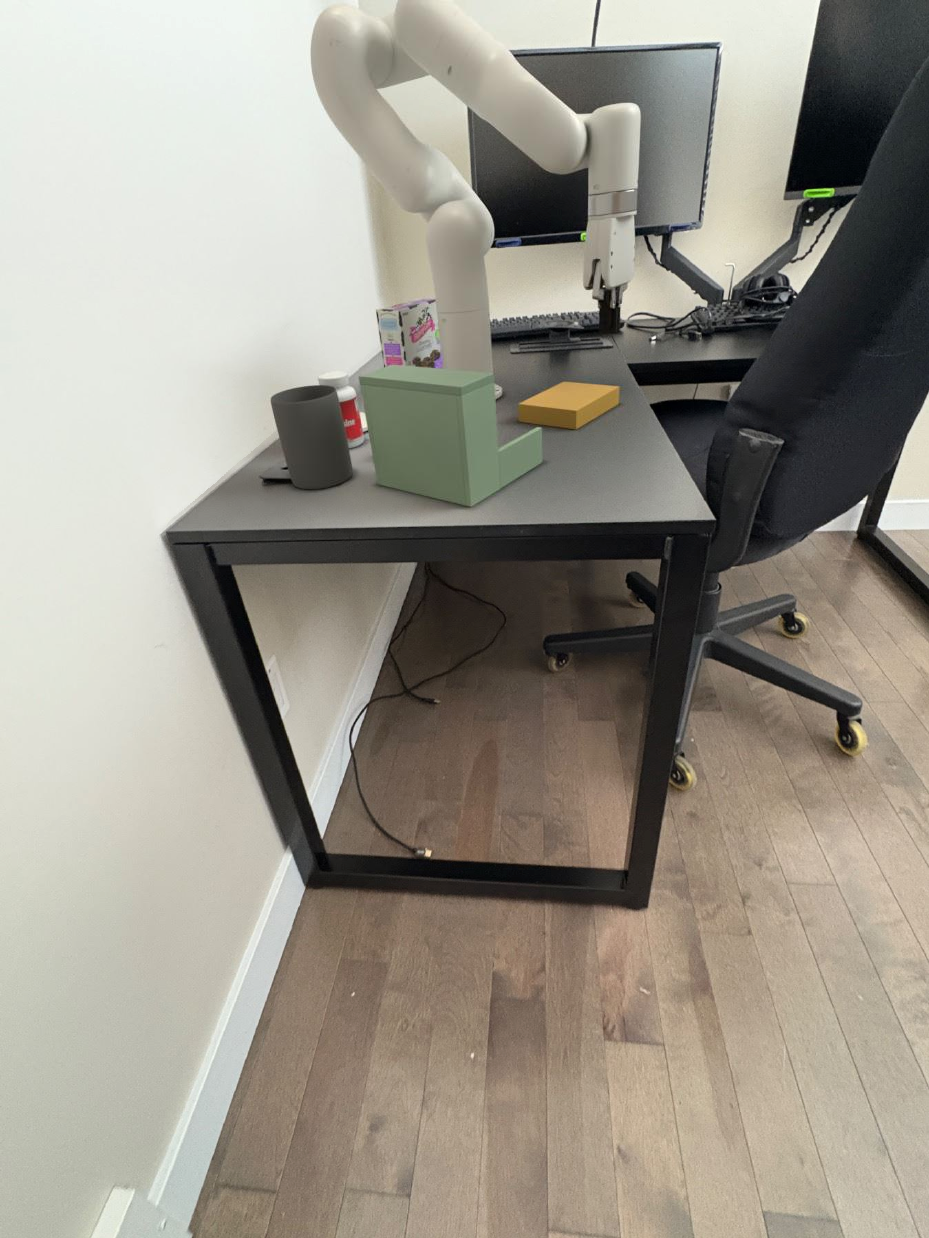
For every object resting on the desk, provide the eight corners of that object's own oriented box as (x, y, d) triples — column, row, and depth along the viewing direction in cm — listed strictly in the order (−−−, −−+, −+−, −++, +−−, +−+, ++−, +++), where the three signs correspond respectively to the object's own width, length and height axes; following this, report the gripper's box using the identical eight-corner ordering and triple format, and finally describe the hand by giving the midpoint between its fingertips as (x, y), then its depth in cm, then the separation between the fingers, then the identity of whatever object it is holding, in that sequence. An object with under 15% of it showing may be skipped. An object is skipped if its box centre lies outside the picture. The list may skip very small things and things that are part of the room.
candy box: (410, 401, 119) (398, 309, 109) (387, 399, 122) (373, 309, 112) (448, 383, 128) (440, 297, 119) (426, 382, 131) (416, 297, 122)
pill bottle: (325, 452, 98) (309, 381, 91) (330, 440, 103) (316, 372, 96) (362, 448, 97) (349, 377, 91) (366, 436, 103) (354, 368, 96)
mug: (366, 474, 88) (350, 389, 81) (313, 495, 83) (291, 407, 76) (315, 456, 96) (297, 378, 89) (265, 475, 91) (241, 393, 84)
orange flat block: (563, 398, 111) (563, 381, 109) (618, 404, 105) (619, 386, 103) (518, 421, 102) (518, 403, 100) (576, 429, 96) (576, 410, 94)
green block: (452, 446, 94) (442, 347, 86) (542, 462, 85) (541, 353, 77) (377, 484, 84) (358, 376, 76) (471, 507, 75) (460, 387, 67)
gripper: (612, 205, 102) (609, 324, 112) (567, 213, 92) (569, 341, 103) (654, 200, 97) (647, 324, 108) (612, 208, 88) (609, 342, 99)
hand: (609, 332), depth 105 cm, fingers closed
